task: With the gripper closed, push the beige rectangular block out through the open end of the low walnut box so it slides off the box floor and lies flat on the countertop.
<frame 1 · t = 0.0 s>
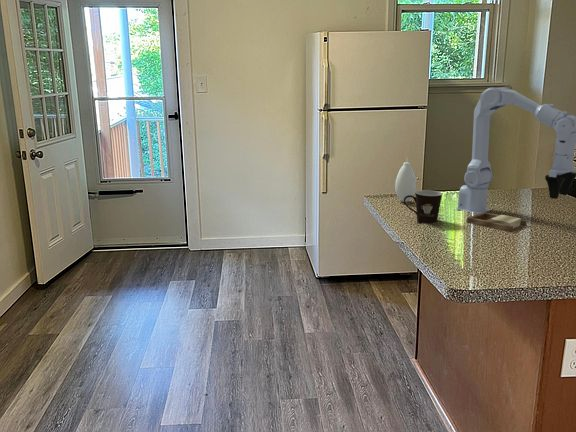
hand: (558, 196, 174), 10 cm above the worktop, fingers open, 7 cm apart
beige rectangular block: (505, 225, 175), point 1 cm above the worktop, touching walnut box
walnut box: (496, 225, 177), on the worktop
sauce bottle: (404, 202, 210), on the worktop
coffee mug: (422, 221, 183), on the worktop
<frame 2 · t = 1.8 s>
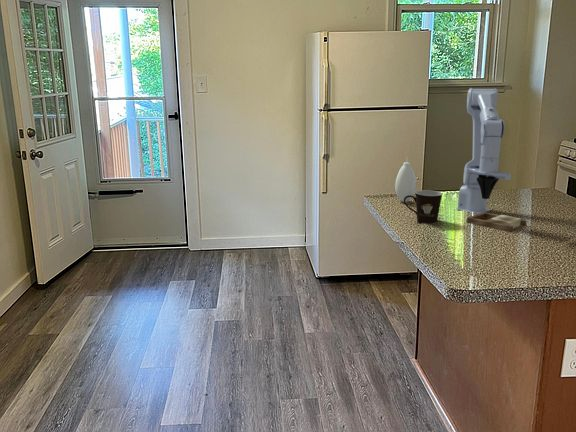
hand: (485, 198, 178), 8 cm above the worktop, fingers closed
nothing on the worktop moved.
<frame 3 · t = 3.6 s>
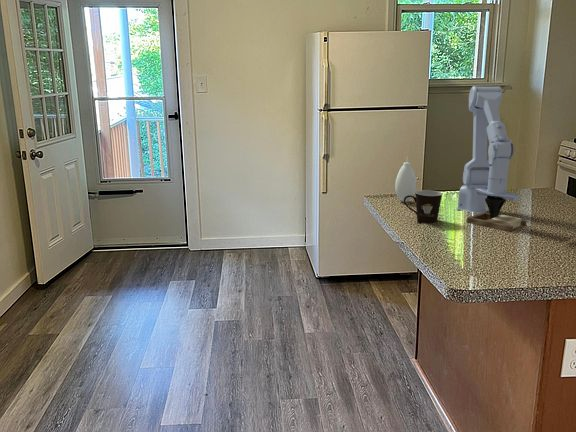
hand: (493, 219, 178), 2 cm above the worktop, fingers closed
beige rectangular block: (505, 225, 175), point 1 cm above the worktop, touching gripper, walnut box
everything else where it was.
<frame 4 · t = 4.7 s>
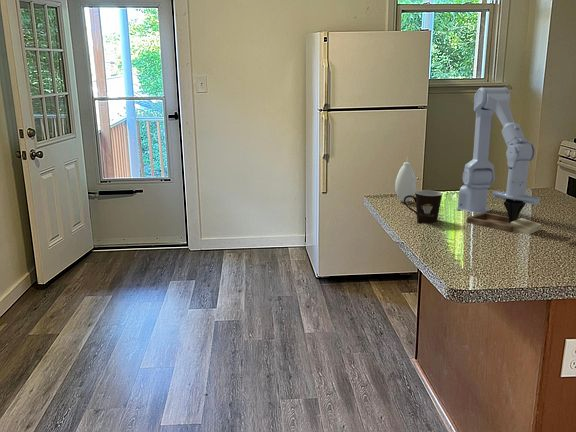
hand: (512, 222, 173), 2 cm above the worktop, fingers closed
beige rectangular block: (524, 230, 171), on the worktop, tilted 7°, touching gripper
everything else where it was.
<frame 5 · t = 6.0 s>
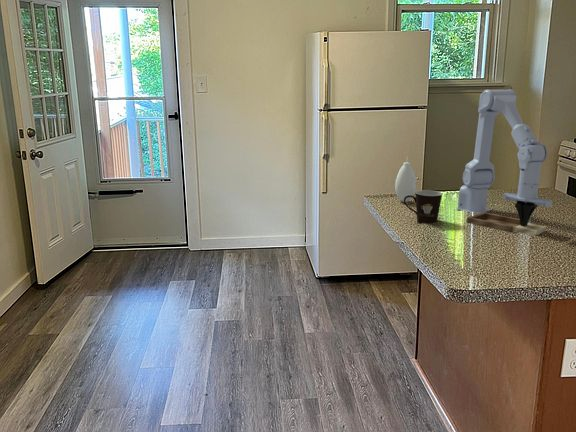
hand: (523, 225, 170), 2 cm above the worktop, fingers closed
beige rectangular block: (529, 234, 170), on the worktop
everything else where it was.
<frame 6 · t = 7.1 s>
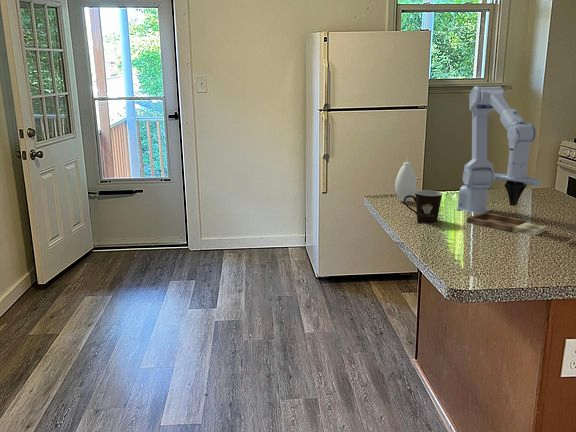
hand: (513, 205, 172), 8 cm above the worktop, fingers closed
nothing on the worktop moved.
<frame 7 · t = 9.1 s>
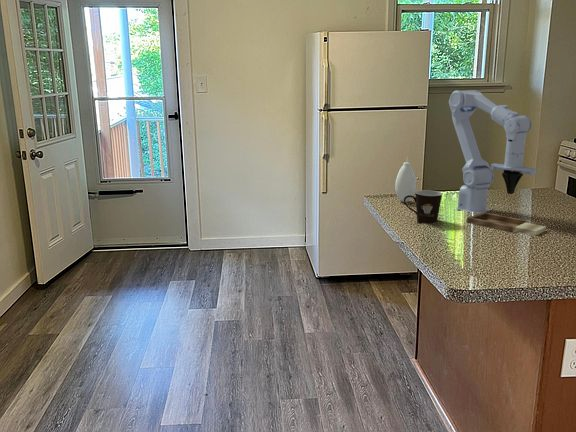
hand: (510, 193, 181), 9 cm above the worktop, fingers closed
nothing on the worktop moved.
at the end: beige rectangular block inside the target area (4.7 cm from its centre), on the worktop; beige rectangular block touching worktop; beige rectangular block tilted 0° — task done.
